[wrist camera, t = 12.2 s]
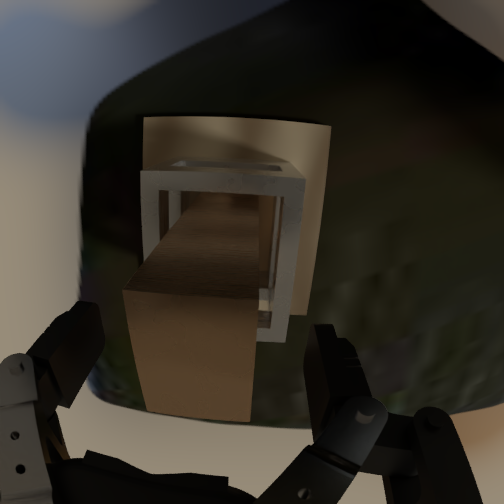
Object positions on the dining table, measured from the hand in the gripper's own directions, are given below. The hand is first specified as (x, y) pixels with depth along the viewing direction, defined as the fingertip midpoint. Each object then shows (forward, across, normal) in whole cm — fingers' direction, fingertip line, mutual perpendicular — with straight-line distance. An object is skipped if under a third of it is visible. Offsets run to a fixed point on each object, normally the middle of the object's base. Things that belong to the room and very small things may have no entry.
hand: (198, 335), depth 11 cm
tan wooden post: (+14, 0, 0) cm, 14 cm away
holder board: (+15, 0, 0) cm, 15 cm away
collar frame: (+14, 0, 0) cm, 14 cm away
